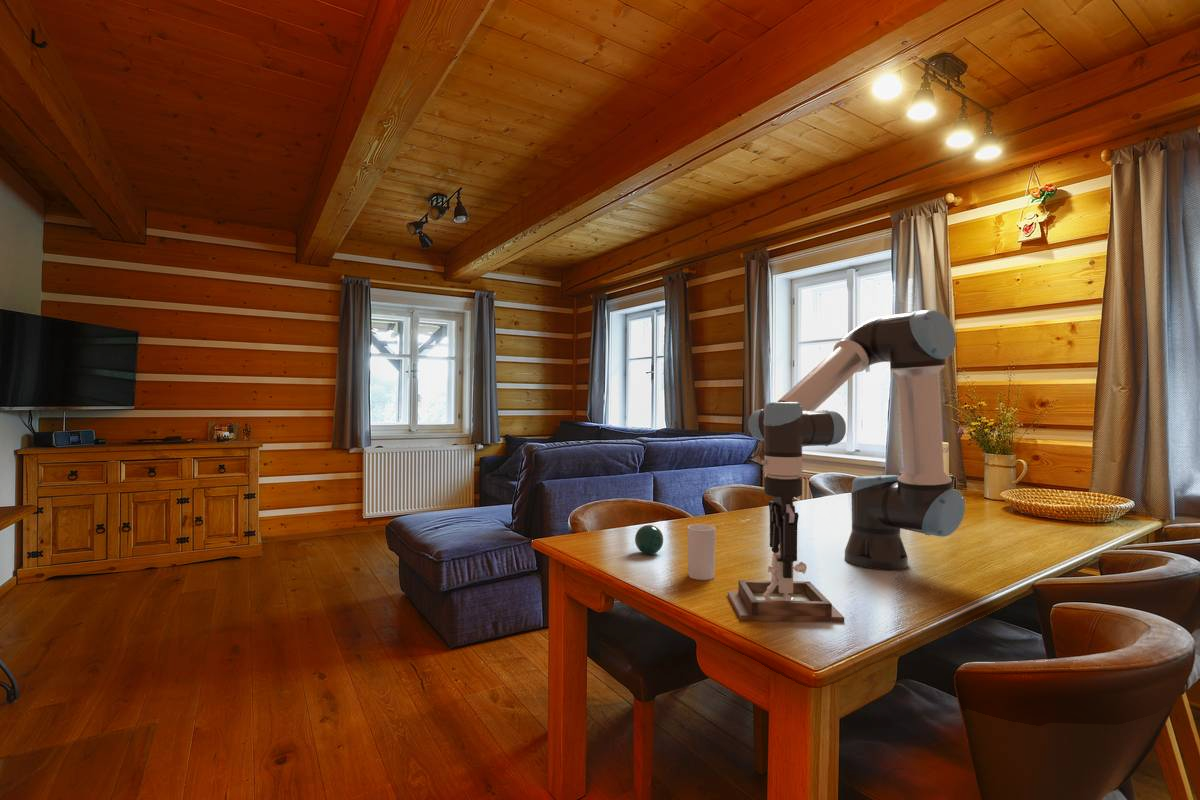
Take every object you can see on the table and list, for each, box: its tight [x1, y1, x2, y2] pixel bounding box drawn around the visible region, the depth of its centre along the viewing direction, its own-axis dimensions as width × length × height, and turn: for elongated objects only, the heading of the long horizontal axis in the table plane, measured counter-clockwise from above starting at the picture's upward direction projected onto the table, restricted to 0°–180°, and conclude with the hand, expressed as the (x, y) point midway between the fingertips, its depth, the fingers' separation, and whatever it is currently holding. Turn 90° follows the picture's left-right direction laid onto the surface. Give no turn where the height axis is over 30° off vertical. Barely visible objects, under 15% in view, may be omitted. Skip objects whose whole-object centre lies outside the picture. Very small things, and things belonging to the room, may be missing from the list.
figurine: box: [763, 544, 807, 601], centre depth 118 cm, size 5×9×12 cm, turn 113°
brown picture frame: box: [727, 579, 845, 623], centre depth 118 cm, size 20×14×4 cm
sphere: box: [634, 524, 664, 555], centre depth 159 cm, size 8×8×8 cm
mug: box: [687, 523, 716, 581], centre depth 140 cm, size 10×7×12 cm, turn 176°
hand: (782, 588), depth 118 cm, fingers closed on figurine, 4 cm apart
